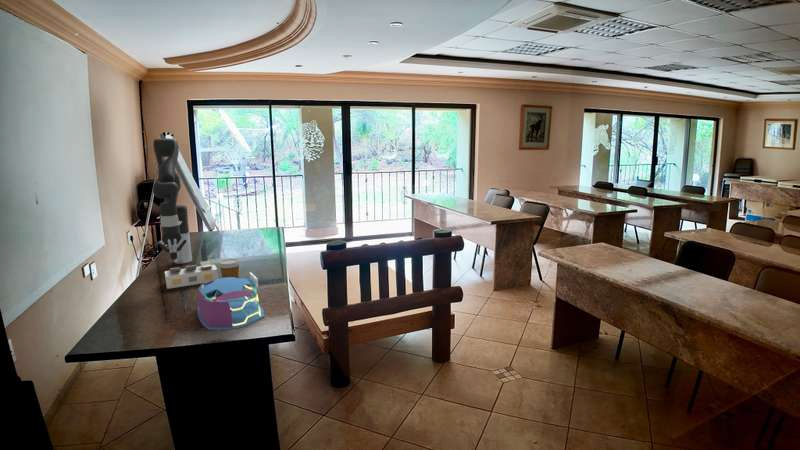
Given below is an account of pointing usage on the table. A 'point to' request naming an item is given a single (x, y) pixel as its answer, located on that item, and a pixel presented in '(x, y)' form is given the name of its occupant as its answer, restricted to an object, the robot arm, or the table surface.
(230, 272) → the disposable coffee cup
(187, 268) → the block
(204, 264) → the rocker
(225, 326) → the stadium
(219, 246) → the table surface
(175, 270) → the rocker
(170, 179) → the robot arm
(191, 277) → the console
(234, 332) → the table surface
